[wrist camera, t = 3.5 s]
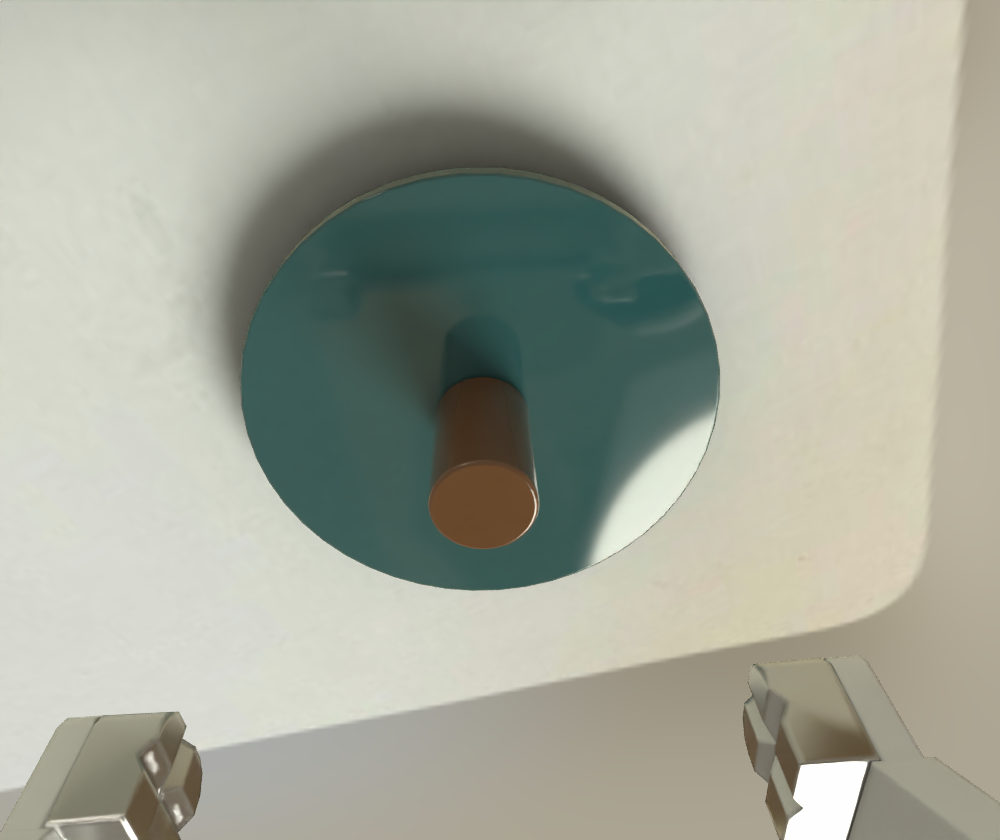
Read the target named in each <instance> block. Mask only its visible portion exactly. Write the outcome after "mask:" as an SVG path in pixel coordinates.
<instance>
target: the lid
mask: <svg viewBox="0 0 1000 840" xmlns="http://www.w3.org/2000/svg"><path fill="white" fill-rule="evenodd" d="M240 390H241V406H242V411H243V416H244V421H245V425H246V430H247V434H248V437H249V439H250V442H251V445H252V448H253V450H254V453H255V456H256V458H257V460H258V462H259V464H260V466H261V468H262V470H263V472H264V473H265V475H266V477H267V479H268V481H269V483H270V484H271V485H272V487H273V488H274V490H275V491H276V492H277V494H278V495H279V496H280V498H281V499H282V501H283V502H284V503H285V505H286V506H287V507H288V508H289V509H290V510H291V511H292V512H293V513H294V514H295V515H296V516H297V517H298V519H299V520H300V521H301V522H302V523H303V524H304V525H306V526H307V527H308V528H309V529H310V530H312V531H313V532H314V533H315V534H316V535H317V536H319V537H320V538H321V539H322V540H323V541H325V542H326V543H328V544H329V545H331V546H332V547H334V548H335V549H337V550H339V551H340V552H342V553H343V554H345V555H346V556H348V557H350V558H352V559H354V560H356V561H358V562H360V563H362V564H364V565H366V566H368V567H370V568H372V569H375V570H377V571H380V572H382V573H385V574H388V575H390V576H393V577H396V578H399V579H403V580H407V581H410V582H414V583H417V584H422V585H428V586H434V587H439V588H445V589H458V590H471V591H475V590H503V589H511V588H519V587H527V586H531V585H536V584H540V583H545V582H549V581H553V580H556V579H559V578H562V577H565V576H568V575H571V574H574V573H577V572H579V571H582V570H584V569H586V568H588V567H591V566H593V565H595V564H597V563H600V562H602V561H603V560H605V559H607V558H609V557H610V556H612V555H614V554H616V553H617V552H619V551H621V550H622V549H624V548H625V547H627V546H628V545H630V544H631V543H632V542H634V541H635V540H636V539H638V538H639V537H640V536H642V535H643V534H645V533H646V532H647V531H648V530H649V529H650V528H651V527H652V526H653V525H654V524H655V523H656V522H658V521H659V520H660V519H661V518H662V517H663V516H664V515H665V514H666V513H667V511H668V510H669V509H670V508H671V507H672V506H673V504H674V503H675V502H676V501H677V500H678V498H679V497H680V496H681V495H682V493H683V492H684V490H685V489H686V487H687V486H688V484H689V483H690V481H691V479H692V478H693V476H694V475H695V473H696V471H697V469H698V467H699V465H700V463H701V461H702V459H703V457H704V455H705V452H706V450H707V447H708V444H709V441H710V438H711V435H712V432H713V429H714V426H715V421H716V415H717V409H718V403H719V396H720V366H719V359H718V352H717V344H716V340H715V336H714V333H713V330H712V326H711V323H710V319H709V316H708V313H707V311H706V309H705V307H704V305H703V303H702V301H701V299H700V296H699V294H698V292H697V290H696V288H695V286H694V285H693V283H692V282H691V280H690V279H689V278H688V276H687V275H686V273H685V272H684V270H683V269H682V267H681V266H680V264H679V263H678V261H677V260H676V258H675V257H674V255H673V254H672V253H671V252H670V251H669V250H668V249H667V248H666V247H665V245H664V244H663V243H662V242H661V241H660V240H659V239H658V238H657V237H656V236H655V235H654V234H653V232H652V231H650V230H649V229H648V228H647V227H645V226H644V225H643V224H642V223H640V222H639V221H638V220H637V219H635V218H634V217H633V216H632V215H631V214H629V213H628V212H627V211H625V210H624V209H622V208H620V207H619V206H617V205H615V204H613V203H612V202H610V201H608V200H607V199H605V198H603V197H602V196H600V195H598V194H596V193H594V192H592V191H589V190H587V189H584V188H582V187H580V186H577V185H575V184H572V183H570V182H568V181H565V180H561V179H558V178H554V177H550V176H546V175H543V174H539V173H535V172H531V171H523V170H515V169H507V168H499V167H459V168H453V169H446V170H439V171H432V172H425V173H421V174H418V175H414V176H411V177H407V178H404V179H400V180H397V181H394V182H390V183H388V184H386V185H383V186H381V187H379V188H377V189H374V190H372V191H370V192H368V193H365V194H363V195H361V196H359V197H357V198H355V199H354V200H352V201H351V202H349V203H347V204H346V205H344V206H343V207H341V208H339V209H338V210H336V211H335V212H333V213H331V214H330V215H329V216H327V217H326V218H325V219H324V220H323V221H321V222H320V223H319V224H318V225H317V226H316V227H314V228H313V229H312V230H311V231H310V232H309V233H307V234H306V235H305V236H304V237H303V238H302V239H301V240H300V242H299V243H298V244H297V245H296V246H295V247H294V248H293V250H292V251H291V252H290V253H289V254H288V255H287V256H286V258H285V259H284V260H283V261H282V263H281V265H280V266H279V268H278V269H277V271H276V272H275V274H274V276H273V277H272V279H271V280H270V282H269V283H268V285H267V287H266V288H265V290H264V291H263V293H262V295H261V297H260V299H259V302H258V304H257V306H256V309H255V311H254V313H253V315H252V318H251V320H250V323H249V327H248V331H247V335H246V338H245V342H244V346H243V350H242V361H241V371H240Z"/></svg>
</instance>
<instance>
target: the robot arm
mask: <svg viewBox="0 0 1000 840" xmlns="http://www.w3.org/2000/svg"><path fill="white" fill-rule="evenodd" d="M748 684H749V687H750V689H751V692H752V697H750V698H749V699H748V700H747V701H746V702H745V703H744V712H743V726H744V736H745V741H746V746H747V749H748V754H749V757H750V760H751V763H752V765H753V768H754V771H755V772H756V773H757V774H758V775H760V776H761V777H762V778H763V779H764V780H765V781H767V782H768V789H767V795H766V801H765V802H766V805H767V807H768V810H769V812H770V815H771V818H772V821H773V824H774V826H775V829H776V832H777V835H778V837H779V840H1000V803H999V802H998V801H997V800H995V799H994V798H992V797H991V796H989V795H988V794H987V793H985V792H984V791H982V790H981V789H979V788H978V787H977V786H975V785H974V784H973V783H971V782H970V781H968V780H967V779H965V778H964V777H963V776H961V775H960V774H958V773H957V772H956V771H954V770H953V769H951V768H950V767H949V766H947V765H946V764H944V763H943V762H941V761H940V760H939V759H937V758H936V757H928V758H924V756H923V755H922V753H921V751H920V750H919V748H918V746H917V745H916V743H915V741H914V740H913V738H912V736H911V735H910V733H909V731H908V729H907V728H906V726H905V724H904V722H903V721H902V719H901V718H900V716H899V714H898V712H897V711H896V709H895V707H894V705H893V704H892V702H891V701H890V699H889V697H888V695H887V694H886V692H885V690H884V688H883V687H882V685H881V683H880V682H879V680H878V679H877V677H876V675H875V673H874V671H873V670H872V668H871V666H870V665H869V663H868V661H867V660H865V659H864V658H863V657H862V656H846V657H834V658H824V659H822V658H813V659H802V660H792V661H781V662H772V663H771V662H770V663H760V664H753V666H752V667H751V668H750V671H749V676H748ZM185 729H186V725H185V723H184V721H183V719H182V717H181V715H180V713H179V712H160V713H141V714H122V715H103V716H90V717H75V718H67V719H66V720H65V721H64V722H63V723H62V724H61V725H60V726H58V727H57V729H56V730H55V732H54V734H53V736H52V738H51V739H50V741H49V743H48V745H47V747H46V749H45V751H44V752H43V754H42V756H41V758H40V760H39V762H38V764H37V765H36V767H35V769H34V771H33V773H32V775H31V776H30V778H29V780H28V782H27V784H26V786H25V788H24V789H23V791H22V793H21V795H20V797H19V799H18V801H17V802H16V804H15V806H14V808H13V810H12V812H11V814H10V816H9V817H8V819H7V821H6V823H5V825H4V827H3V828H2V830H1V831H0V840H181V839H180V837H179V834H178V832H179V831H180V830H181V829H182V828H183V827H184V826H185V825H186V824H187V822H188V821H189V820H190V819H191V818H192V817H193V816H194V814H195V811H196V808H197V804H198V801H199V798H200V792H201V781H202V768H201V761H200V757H199V754H198V752H197V749H196V747H195V746H193V745H192V744H190V743H189V742H187V741H185V740H184V739H182V738H183V735H184V732H185Z"/></svg>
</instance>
